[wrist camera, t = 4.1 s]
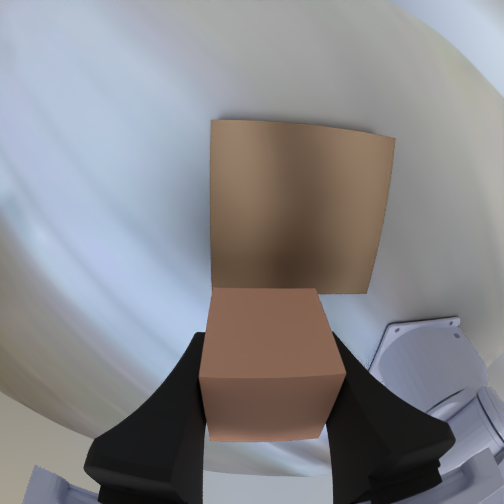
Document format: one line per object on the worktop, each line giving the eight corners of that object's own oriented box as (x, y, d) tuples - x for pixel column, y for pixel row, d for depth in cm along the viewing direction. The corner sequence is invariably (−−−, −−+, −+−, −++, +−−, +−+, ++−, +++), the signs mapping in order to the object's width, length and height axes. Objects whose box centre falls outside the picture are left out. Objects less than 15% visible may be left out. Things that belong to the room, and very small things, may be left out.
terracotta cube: (315, 288, 12) (346, 373, 8) (302, 358, 14) (318, 438, 10) (213, 287, 12) (198, 376, 8) (217, 359, 14) (210, 441, 10)
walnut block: (370, 134, 17) (395, 138, 13) (350, 268, 21) (366, 293, 18) (217, 120, 16) (210, 119, 13) (216, 265, 20) (211, 292, 17)
